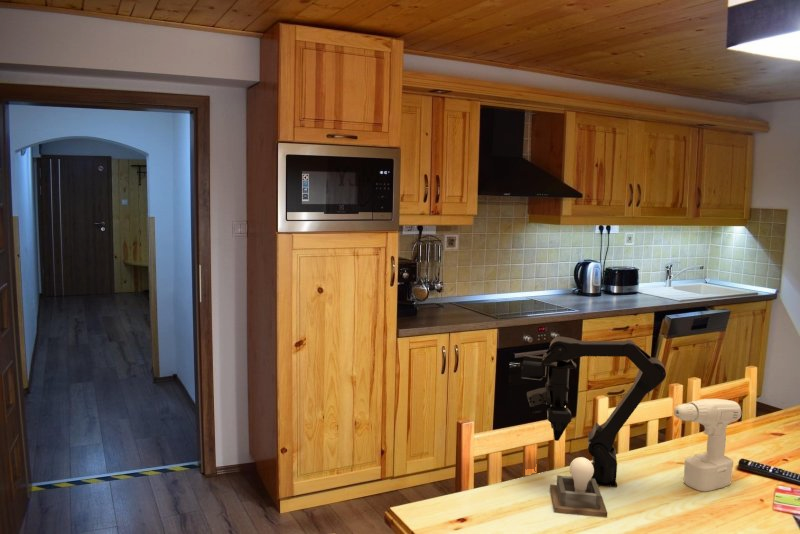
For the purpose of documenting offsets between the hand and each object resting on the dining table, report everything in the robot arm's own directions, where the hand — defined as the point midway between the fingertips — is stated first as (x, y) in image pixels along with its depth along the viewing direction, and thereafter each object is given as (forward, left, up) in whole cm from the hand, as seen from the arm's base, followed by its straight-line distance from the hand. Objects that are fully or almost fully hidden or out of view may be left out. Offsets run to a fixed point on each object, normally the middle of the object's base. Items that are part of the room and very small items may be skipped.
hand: (554, 434), depth 185 cm
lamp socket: (-5, +16, -12) cm, 21 cm away
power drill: (-41, -1, -12) cm, 43 cm away
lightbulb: (-5, +16, -11) cm, 20 cm away
